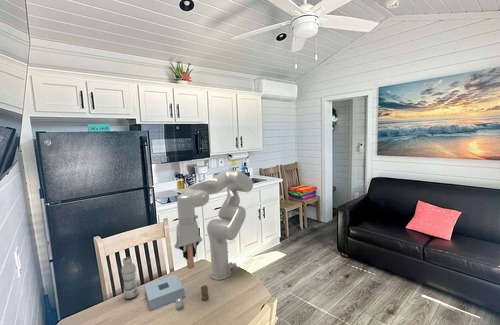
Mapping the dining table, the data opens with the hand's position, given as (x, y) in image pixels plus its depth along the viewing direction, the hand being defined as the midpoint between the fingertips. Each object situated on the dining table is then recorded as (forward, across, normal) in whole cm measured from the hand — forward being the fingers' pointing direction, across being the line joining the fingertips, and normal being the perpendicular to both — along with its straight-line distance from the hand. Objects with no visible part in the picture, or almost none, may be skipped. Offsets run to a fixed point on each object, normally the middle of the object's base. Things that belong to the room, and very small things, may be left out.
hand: (189, 256), depth 118 cm
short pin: (+21, +8, +3) cm, 23 cm away
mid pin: (+21, -4, +4) cm, 22 cm away
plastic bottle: (+21, +25, -19) cm, 38 cm away
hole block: (+21, +11, -10) cm, 26 cm away
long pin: (+5, 0, 0) cm, 5 cm away
